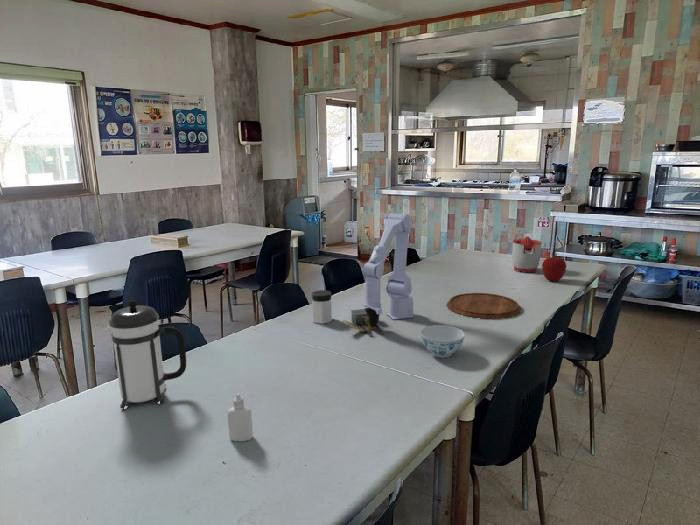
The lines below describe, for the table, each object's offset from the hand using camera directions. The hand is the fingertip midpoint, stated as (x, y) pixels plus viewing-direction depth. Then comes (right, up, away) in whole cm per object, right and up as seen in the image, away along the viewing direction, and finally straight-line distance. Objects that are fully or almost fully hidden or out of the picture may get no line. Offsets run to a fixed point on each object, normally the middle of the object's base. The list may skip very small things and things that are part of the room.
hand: (373, 325), depth 190 cm
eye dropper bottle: (-36, -19, -69) cm, 80 cm away
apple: (+98, +15, +66) cm, 119 cm away
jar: (-21, 0, +13) cm, 25 cm away
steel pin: (-3, 0, +8) cm, 9 cm away
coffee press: (-68, -15, -48) cm, 85 cm away
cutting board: (+50, +4, +26) cm, 57 cm away
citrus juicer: (+91, +20, +88) cm, 128 cm away
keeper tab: (-8, 0, -2) cm, 8 cm away
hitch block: (-1, -1, +4) cm, 4 cm away
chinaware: (+23, -7, -22) cm, 32 cm away
